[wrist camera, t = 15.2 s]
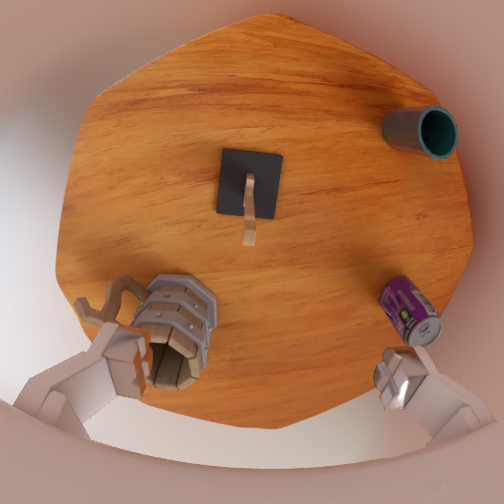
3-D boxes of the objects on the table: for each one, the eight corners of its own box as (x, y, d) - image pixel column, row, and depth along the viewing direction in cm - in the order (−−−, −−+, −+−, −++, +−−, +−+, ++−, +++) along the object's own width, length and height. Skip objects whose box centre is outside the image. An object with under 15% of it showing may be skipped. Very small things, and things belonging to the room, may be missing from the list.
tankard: (232, 308, 47) (227, 376, 33) (185, 346, 50) (169, 410, 37) (138, 226, 41) (93, 271, 27) (99, 276, 45) (56, 328, 31)
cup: (384, 102, 34) (421, 98, 25) (420, 115, 34) (460, 116, 25) (378, 145, 37) (414, 151, 28) (415, 155, 37) (453, 165, 28)
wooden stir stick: (247, 172, 38) (245, 213, 20) (253, 173, 38) (258, 215, 20) (244, 197, 39) (240, 259, 21) (250, 197, 39) (252, 260, 21)
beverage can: (373, 290, 46) (401, 333, 35) (406, 268, 45) (441, 306, 34) (385, 316, 49) (411, 359, 38) (416, 296, 47) (447, 335, 36)
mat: (223, 148, 37) (222, 148, 37) (282, 155, 38) (282, 156, 37) (216, 212, 41) (216, 213, 40) (273, 218, 41) (273, 219, 41)
